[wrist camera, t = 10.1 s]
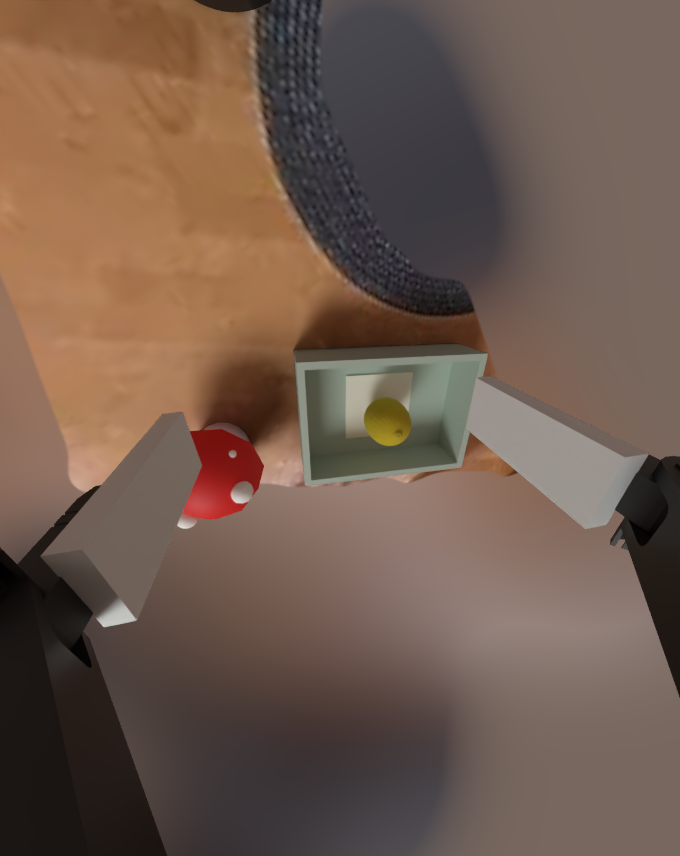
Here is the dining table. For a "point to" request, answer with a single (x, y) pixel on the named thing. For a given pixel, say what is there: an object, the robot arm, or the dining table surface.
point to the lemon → (387, 421)
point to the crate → (383, 378)
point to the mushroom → (222, 474)
